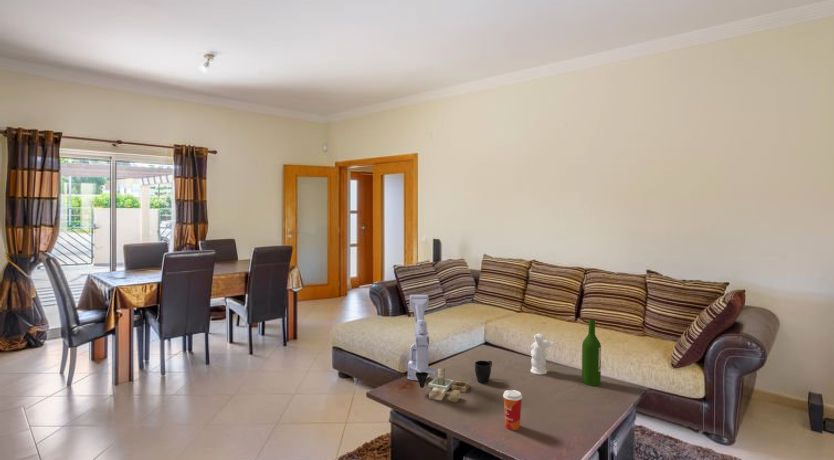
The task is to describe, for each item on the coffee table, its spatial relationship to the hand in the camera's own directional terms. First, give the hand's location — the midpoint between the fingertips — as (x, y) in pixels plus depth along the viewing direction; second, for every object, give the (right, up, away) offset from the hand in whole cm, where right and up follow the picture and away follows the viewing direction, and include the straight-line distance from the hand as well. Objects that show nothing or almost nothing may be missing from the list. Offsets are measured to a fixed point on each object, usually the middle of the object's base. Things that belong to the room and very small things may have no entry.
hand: (422, 387), depth 207 cm
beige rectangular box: (+7, -4, -3) cm, 9 cm away
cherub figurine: (+65, -2, +26) cm, 70 cm away
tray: (+10, -3, +9) cm, 13 cm away
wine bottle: (+87, -2, +12) cm, 87 cm away
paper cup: (+36, -5, -33) cm, 49 cm away
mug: (+33, -2, +16) cm, 36 cm away
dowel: (+10, -2, +9) cm, 13 cm away
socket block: (+19, -3, +5) cm, 20 cm away
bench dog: (+15, -3, -7) cm, 17 cm away
